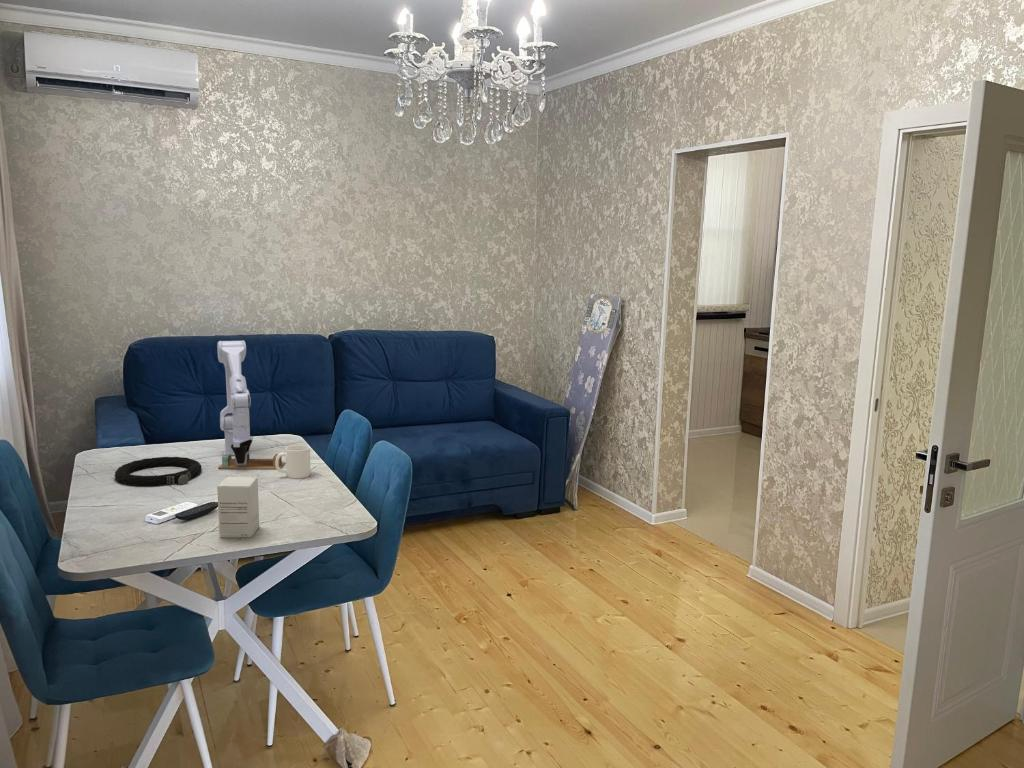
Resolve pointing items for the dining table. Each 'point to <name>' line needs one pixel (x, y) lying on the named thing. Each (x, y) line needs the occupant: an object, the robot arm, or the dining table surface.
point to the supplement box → (238, 506)
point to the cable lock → (157, 480)
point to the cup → (296, 461)
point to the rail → (251, 463)
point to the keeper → (247, 456)
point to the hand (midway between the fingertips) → (242, 461)
